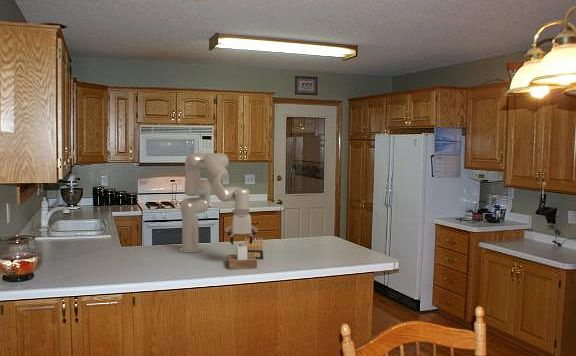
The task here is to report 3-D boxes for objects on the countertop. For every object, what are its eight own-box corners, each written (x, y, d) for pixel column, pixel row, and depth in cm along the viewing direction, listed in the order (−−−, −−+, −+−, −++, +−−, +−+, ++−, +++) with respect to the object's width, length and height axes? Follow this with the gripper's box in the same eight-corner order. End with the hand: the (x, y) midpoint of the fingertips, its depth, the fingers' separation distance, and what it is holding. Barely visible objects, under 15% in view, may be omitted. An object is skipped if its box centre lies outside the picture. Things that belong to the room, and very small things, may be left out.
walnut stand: (227, 262, 276) (227, 254, 275) (253, 261, 278) (253, 254, 278) (229, 269, 260) (229, 261, 260) (256, 268, 262) (256, 260, 262)
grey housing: (237, 259, 264) (237, 247, 263) (236, 256, 273) (236, 243, 272) (247, 259, 265) (247, 246, 264) (245, 255, 274) (245, 243, 273)
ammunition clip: (244, 258, 284) (244, 237, 283) (244, 258, 286) (244, 237, 285) (263, 259, 283) (263, 238, 282) (263, 258, 285) (263, 237, 284)
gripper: (225, 213, 262) (225, 246, 263) (259, 213, 265) (258, 245, 266) (224, 211, 269) (224, 242, 271) (257, 210, 272) (256, 242, 274)
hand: (241, 244), depth 269 cm, fingers open, 9 cm apart
